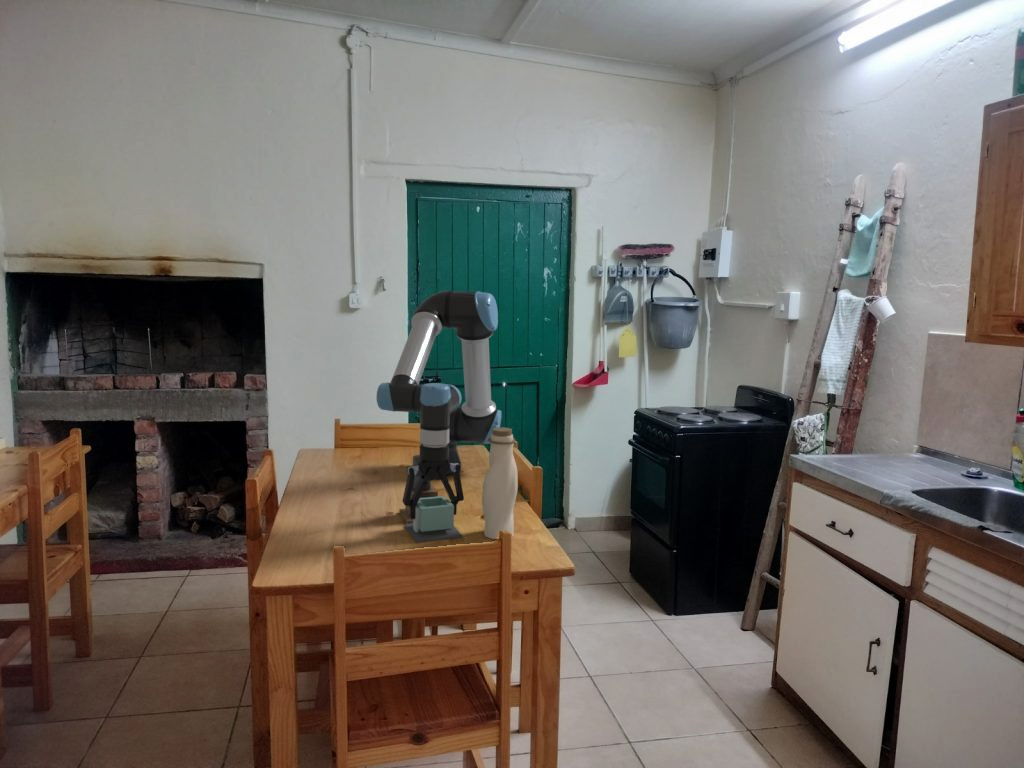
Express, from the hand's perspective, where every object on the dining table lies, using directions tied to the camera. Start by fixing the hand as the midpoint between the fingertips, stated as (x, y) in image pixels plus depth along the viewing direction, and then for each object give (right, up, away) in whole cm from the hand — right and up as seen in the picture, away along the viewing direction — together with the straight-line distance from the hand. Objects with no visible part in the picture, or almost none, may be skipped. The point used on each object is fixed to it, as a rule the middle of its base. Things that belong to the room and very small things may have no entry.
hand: (432, 528), depth 177 cm
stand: (-5, +1, +11) cm, 12 cm away
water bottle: (+17, -2, +1) cm, 17 cm away
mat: (0, -1, 0) cm, 1 cm away
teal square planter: (0, +1, 0) cm, 1 cm away
